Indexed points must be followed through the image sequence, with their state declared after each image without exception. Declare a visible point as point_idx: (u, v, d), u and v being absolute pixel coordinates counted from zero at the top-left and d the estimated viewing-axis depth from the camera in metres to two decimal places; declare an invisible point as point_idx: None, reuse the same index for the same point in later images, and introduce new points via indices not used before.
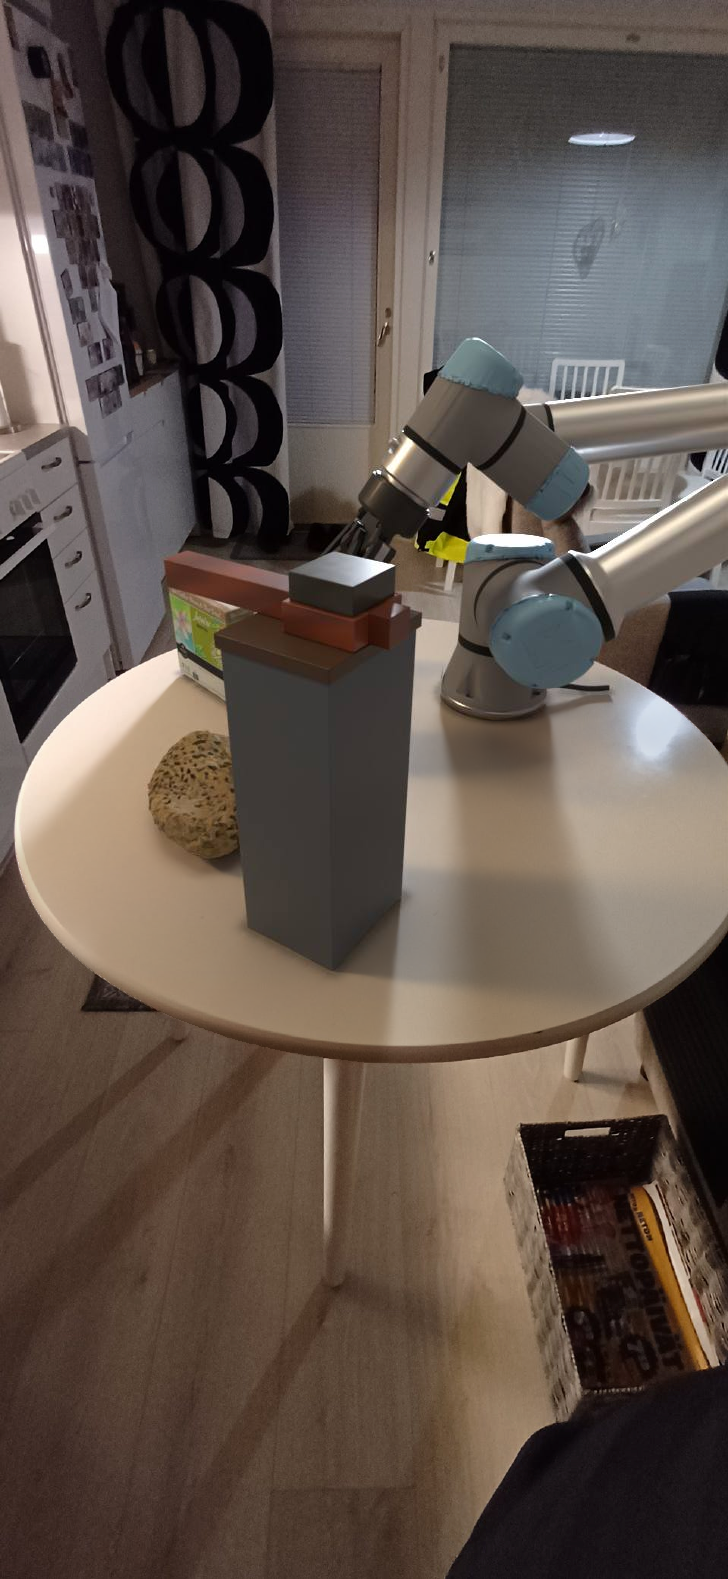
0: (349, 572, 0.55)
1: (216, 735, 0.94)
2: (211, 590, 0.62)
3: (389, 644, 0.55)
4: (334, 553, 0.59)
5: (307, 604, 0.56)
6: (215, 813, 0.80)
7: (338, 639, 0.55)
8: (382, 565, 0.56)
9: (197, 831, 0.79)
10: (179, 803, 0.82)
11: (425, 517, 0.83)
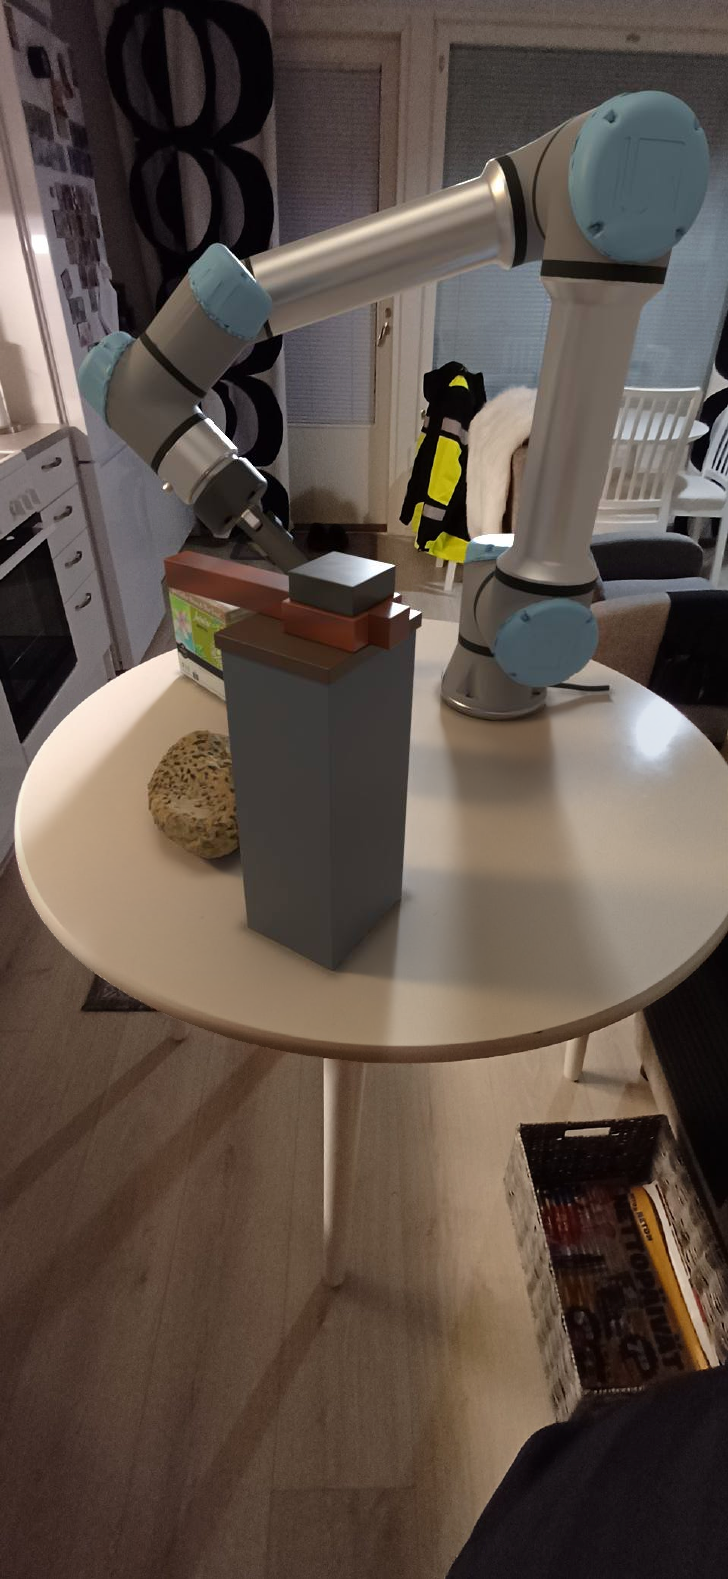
0: (349, 572, 0.55)
1: (216, 735, 0.94)
2: (211, 590, 0.62)
3: (389, 644, 0.55)
4: (334, 553, 0.59)
5: (307, 604, 0.56)
6: (215, 813, 0.80)
7: (338, 639, 0.55)
8: (382, 565, 0.56)
9: (197, 831, 0.79)
10: (179, 803, 0.82)
11: (239, 462, 0.76)
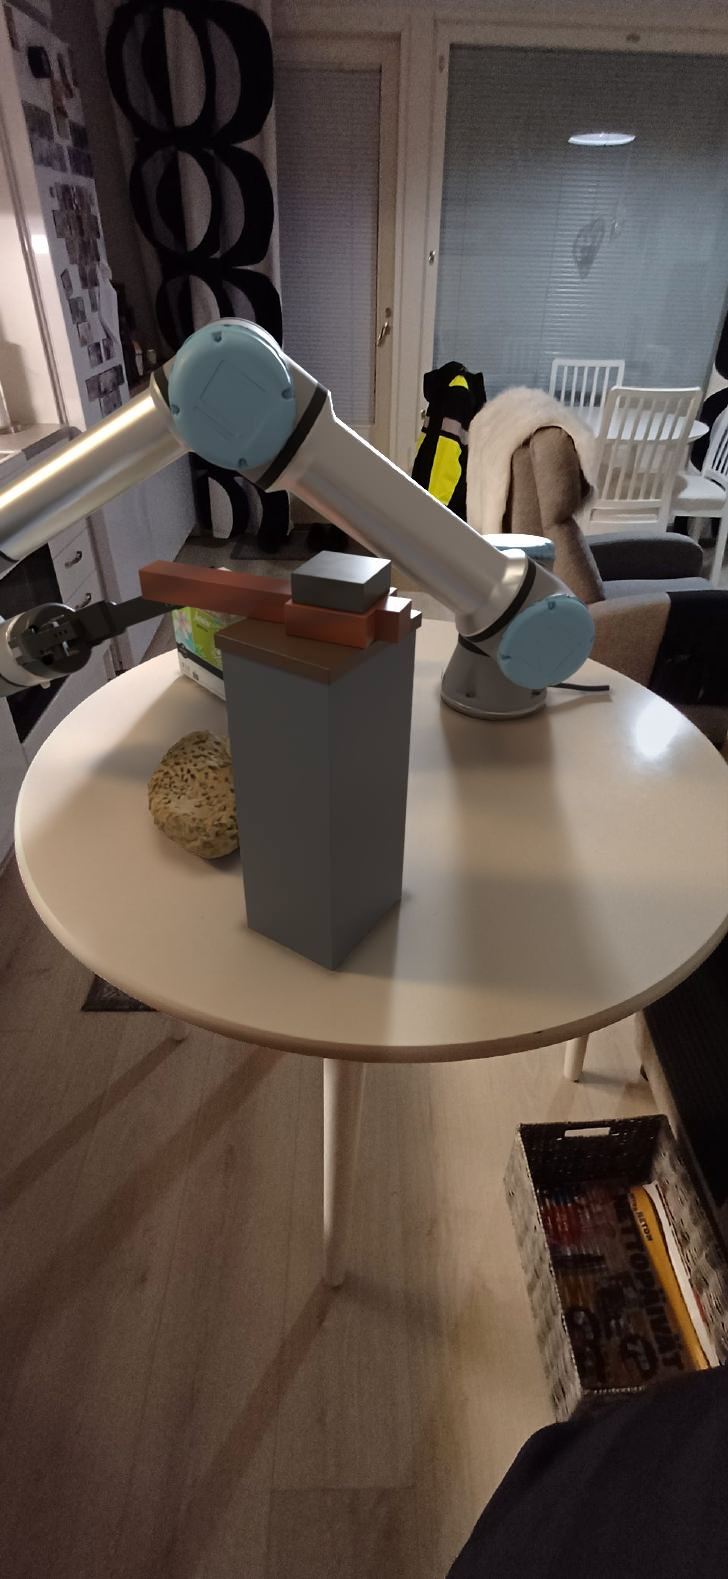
0: (351, 569, 0.56)
1: (216, 735, 0.94)
2: (196, 598, 0.61)
3: (398, 637, 0.56)
4: (325, 552, 0.59)
5: (312, 604, 0.56)
6: (215, 813, 0.80)
7: (348, 637, 0.55)
8: (378, 561, 0.57)
9: (197, 831, 0.79)
10: (179, 803, 0.82)
11: (16, 622, 0.81)
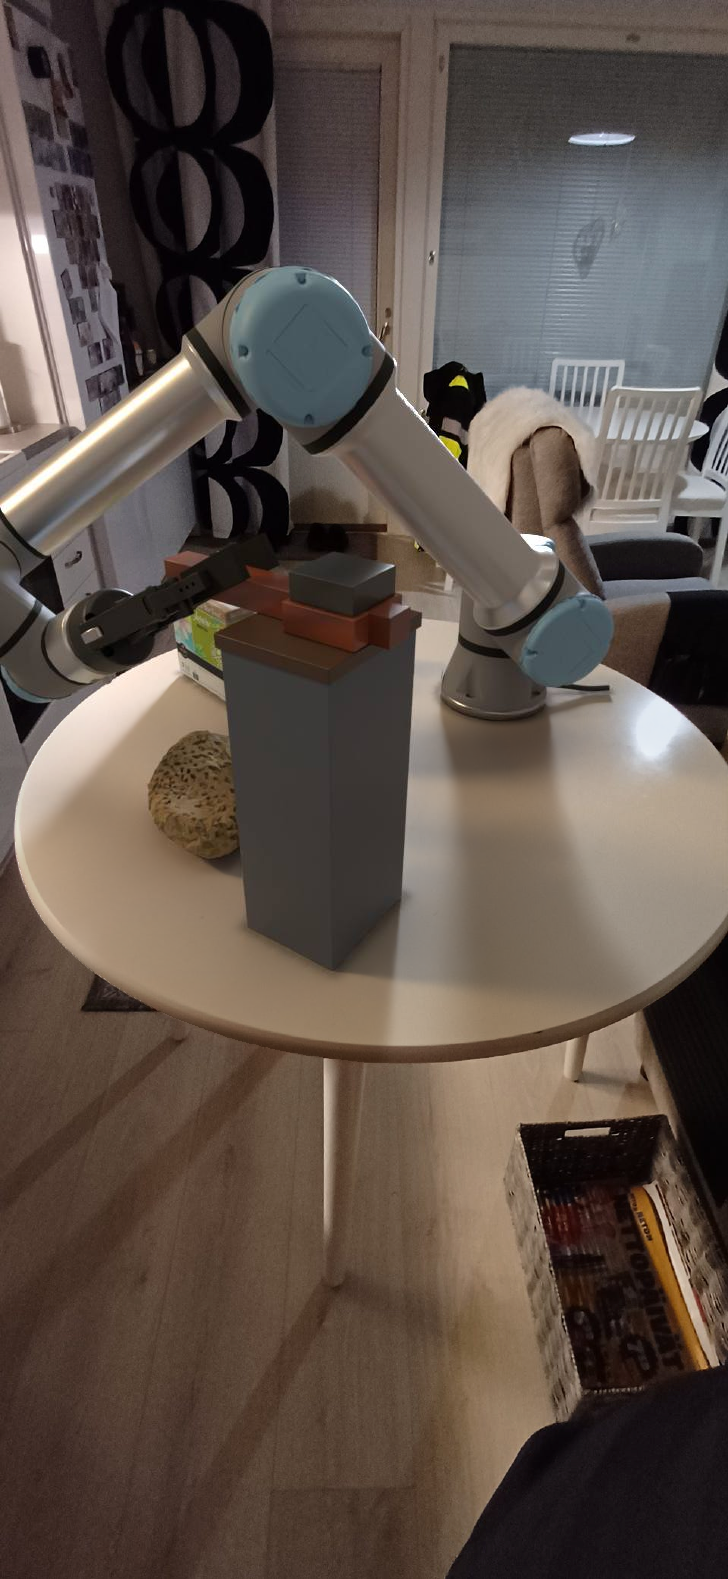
0: (349, 572, 0.55)
1: (216, 735, 0.94)
2: None
3: (389, 644, 0.55)
4: (334, 553, 0.59)
5: (307, 604, 0.56)
6: (215, 813, 0.80)
7: (338, 639, 0.55)
8: (382, 565, 0.56)
9: (197, 831, 0.79)
10: (179, 803, 0.82)
11: (72, 612, 0.73)
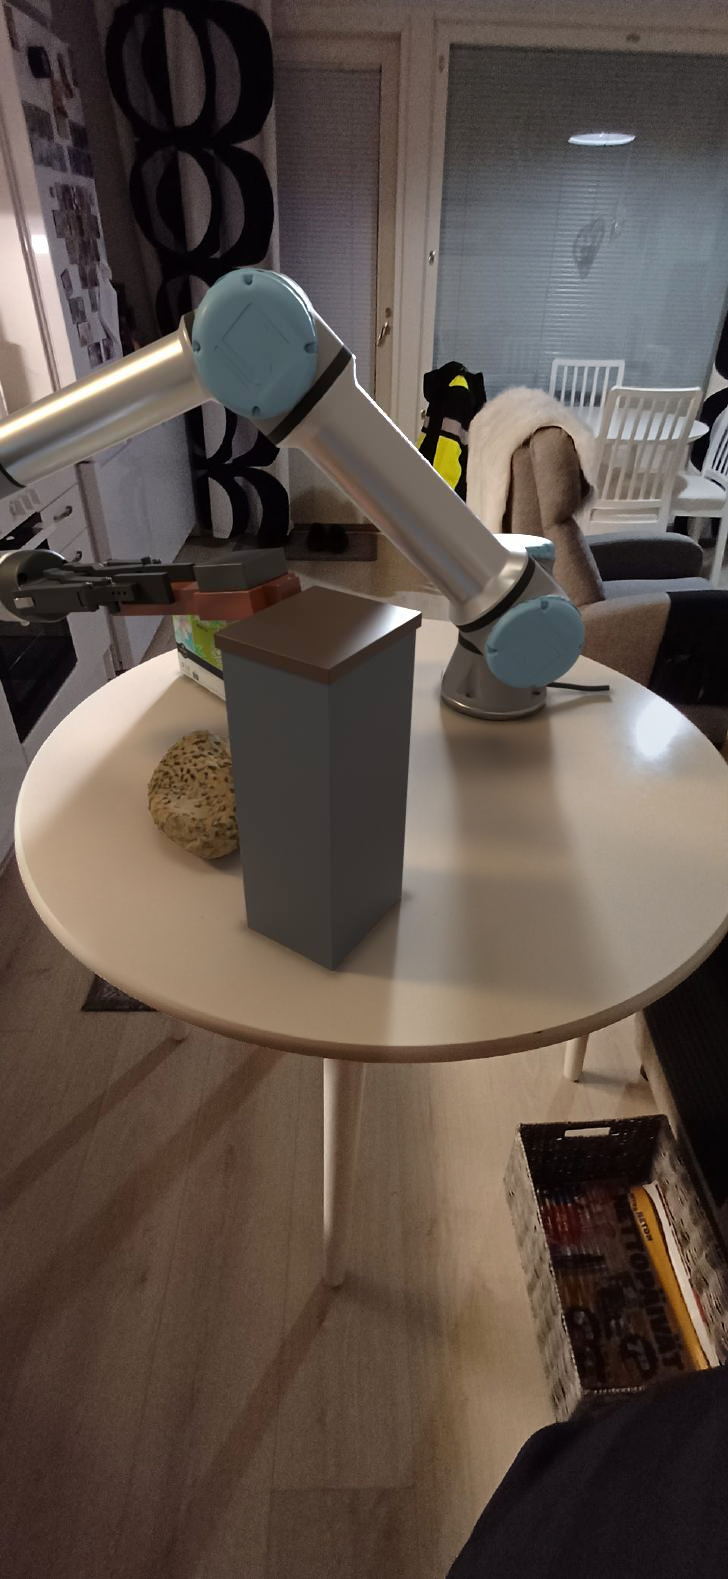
0: (242, 557, 0.66)
1: (216, 735, 0.94)
2: (145, 607, 0.73)
3: None
4: (235, 552, 0.69)
5: (213, 590, 0.66)
6: (215, 813, 0.80)
7: (241, 612, 0.65)
8: (271, 549, 0.67)
9: (197, 831, 0.79)
10: (179, 803, 0.82)
11: (4, 563, 0.81)
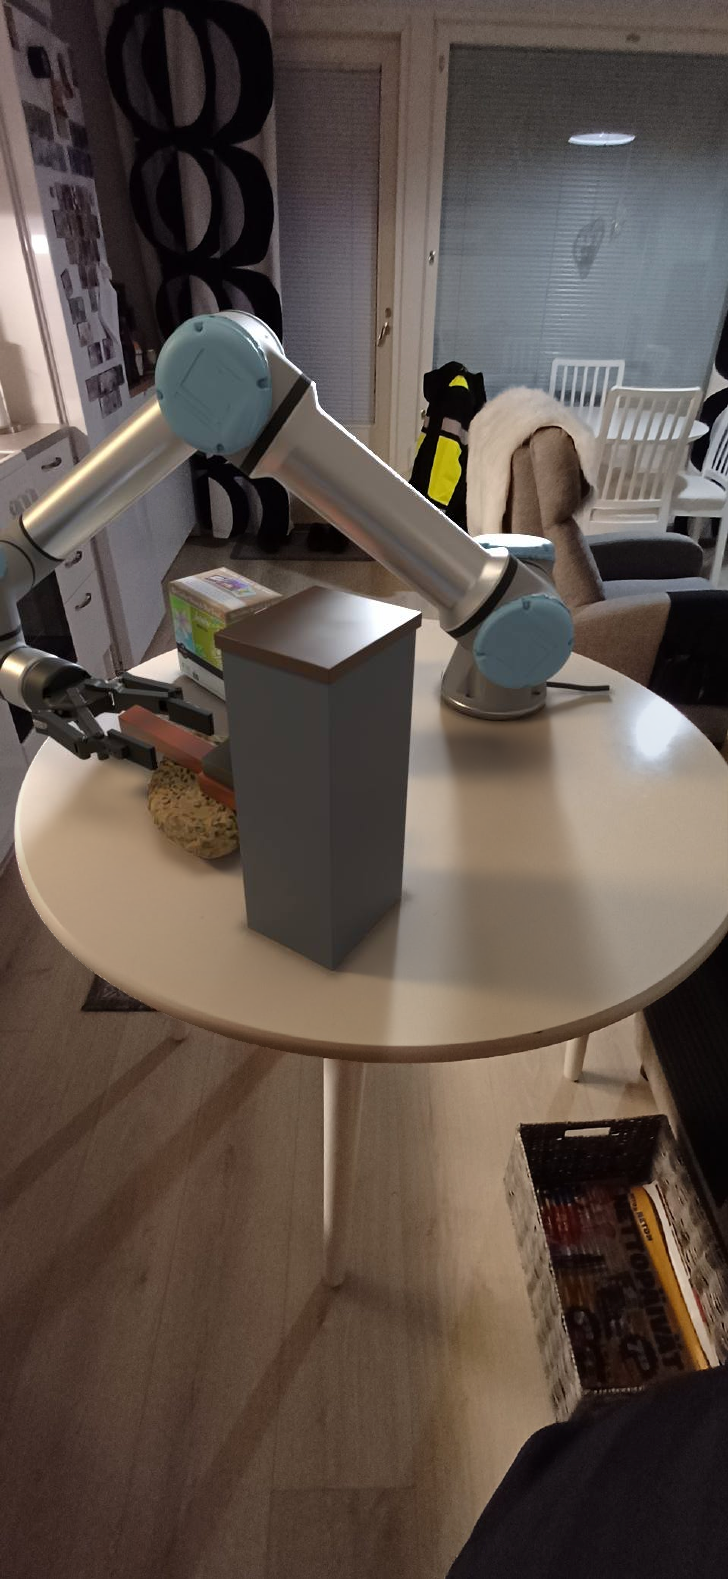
0: None
1: (216, 735, 0.94)
2: None
3: None
4: None
5: (215, 780, 0.80)
6: (215, 813, 0.80)
7: (235, 806, 0.80)
8: None
9: (197, 831, 0.79)
10: (179, 803, 0.82)
11: (31, 672, 0.92)
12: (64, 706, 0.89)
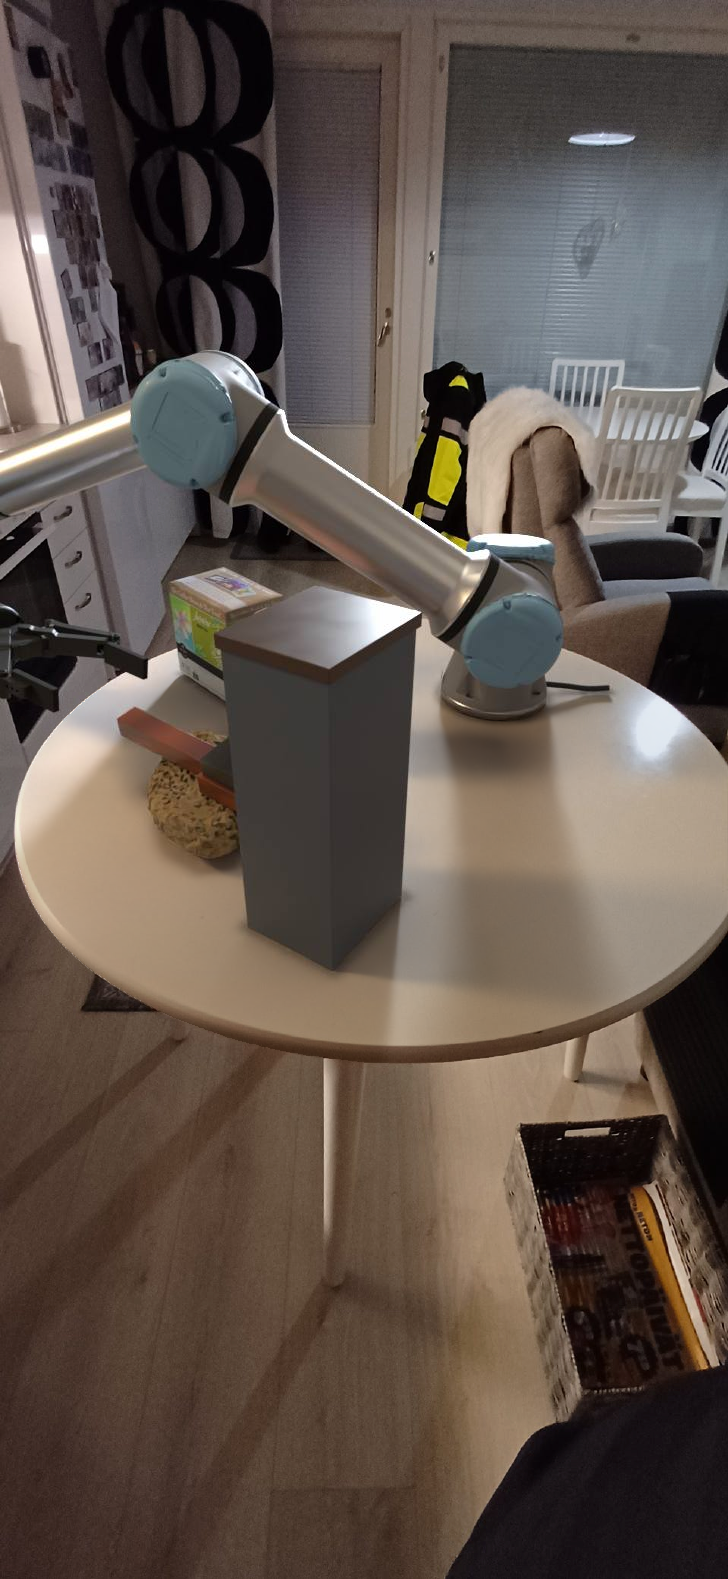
0: None
1: (216, 735, 0.94)
2: (151, 746, 0.86)
3: None
4: None
5: (214, 780, 0.80)
6: (214, 813, 0.80)
7: (235, 807, 0.80)
8: None
9: (197, 831, 0.79)
10: (179, 803, 0.82)
11: None
12: None
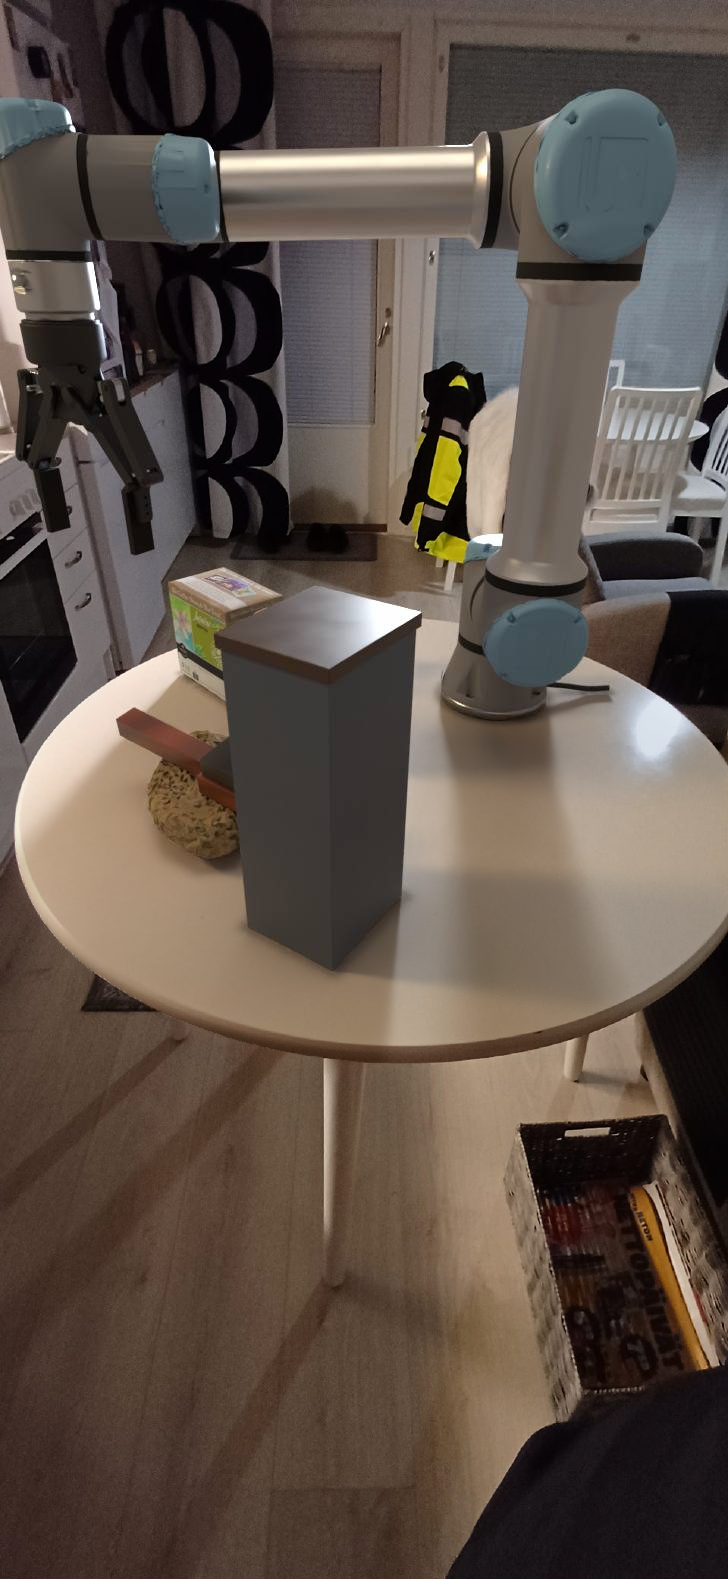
0: None
1: (216, 735, 0.94)
2: (151, 747, 0.86)
3: None
4: None
5: (213, 780, 0.80)
6: (214, 813, 0.80)
7: (235, 807, 0.80)
8: None
9: (197, 831, 0.79)
10: (179, 803, 0.82)
11: None
12: (103, 402, 0.77)
